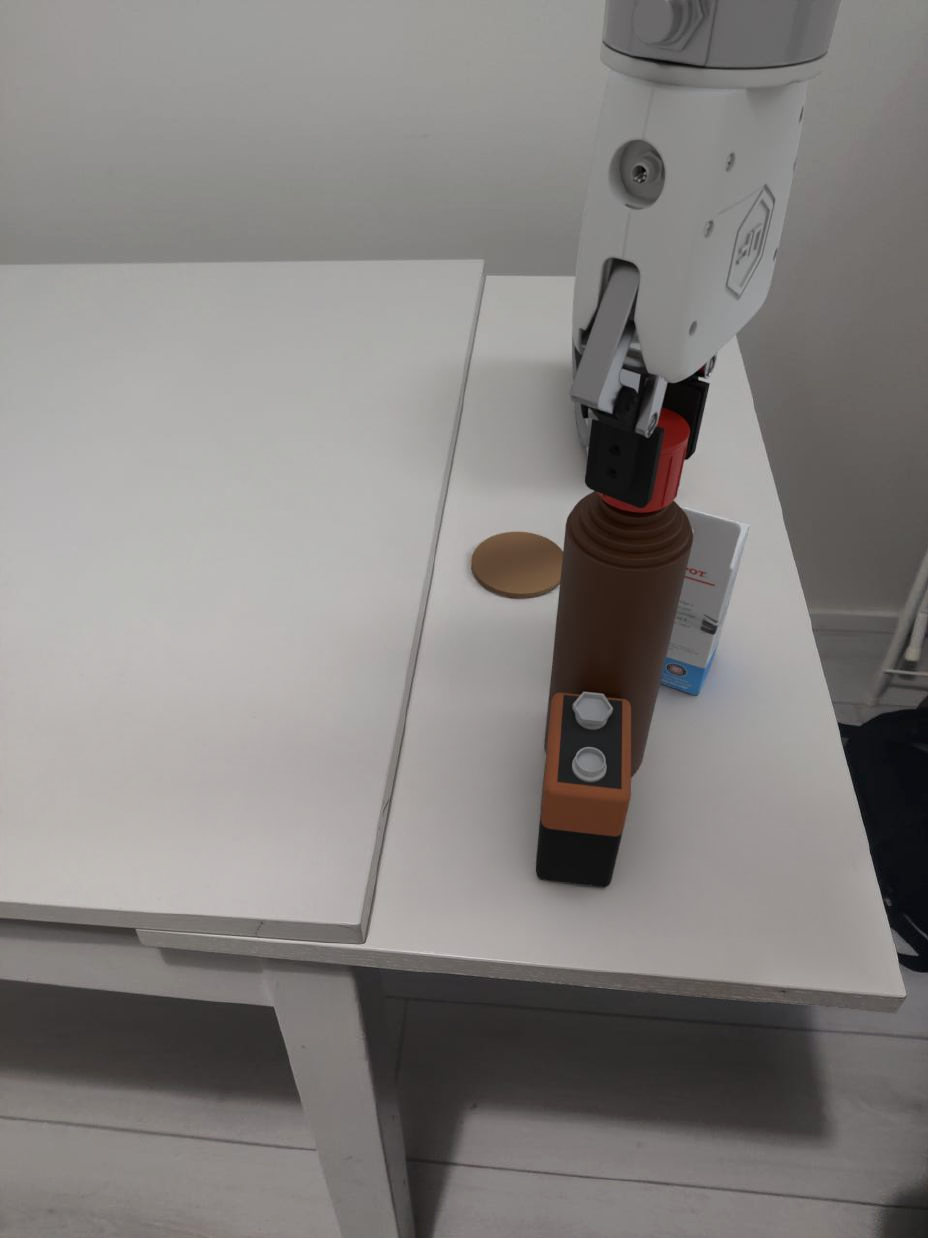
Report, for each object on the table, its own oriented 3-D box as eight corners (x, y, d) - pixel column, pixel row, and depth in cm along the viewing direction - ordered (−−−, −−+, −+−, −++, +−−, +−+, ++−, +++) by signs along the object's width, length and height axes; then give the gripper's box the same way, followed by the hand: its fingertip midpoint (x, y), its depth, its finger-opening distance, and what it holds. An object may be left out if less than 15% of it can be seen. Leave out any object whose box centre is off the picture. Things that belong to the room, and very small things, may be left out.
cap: (627, 456, 45) (637, 394, 42) (692, 488, 43) (706, 425, 40) (578, 488, 42) (585, 426, 40) (644, 524, 40) (656, 460, 38)
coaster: (586, 567, 70) (586, 562, 69) (519, 612, 66) (520, 607, 66) (517, 524, 74) (518, 519, 73) (451, 564, 70) (451, 559, 70)
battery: (612, 792, 54) (634, 685, 47) (610, 892, 49) (634, 789, 42) (542, 784, 55) (553, 677, 48) (533, 882, 50) (544, 779, 43)
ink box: (717, 651, 63) (766, 482, 53) (698, 698, 60) (746, 528, 50) (605, 614, 66) (631, 447, 56) (581, 658, 63) (604, 488, 52)
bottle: (663, 748, 57) (743, 436, 40) (599, 806, 54) (657, 493, 37) (588, 694, 60) (633, 385, 44) (523, 746, 57) (546, 433, 41)
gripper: (725, 79, 23) (630, 599, 35) (903, -14, 32) (778, 419, 45) (484, 42, 26) (477, 533, 38) (713, -33, 35) (647, 378, 48)
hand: (640, 468), depth 42 cm, fingers closed on cap, 3 cm apart
